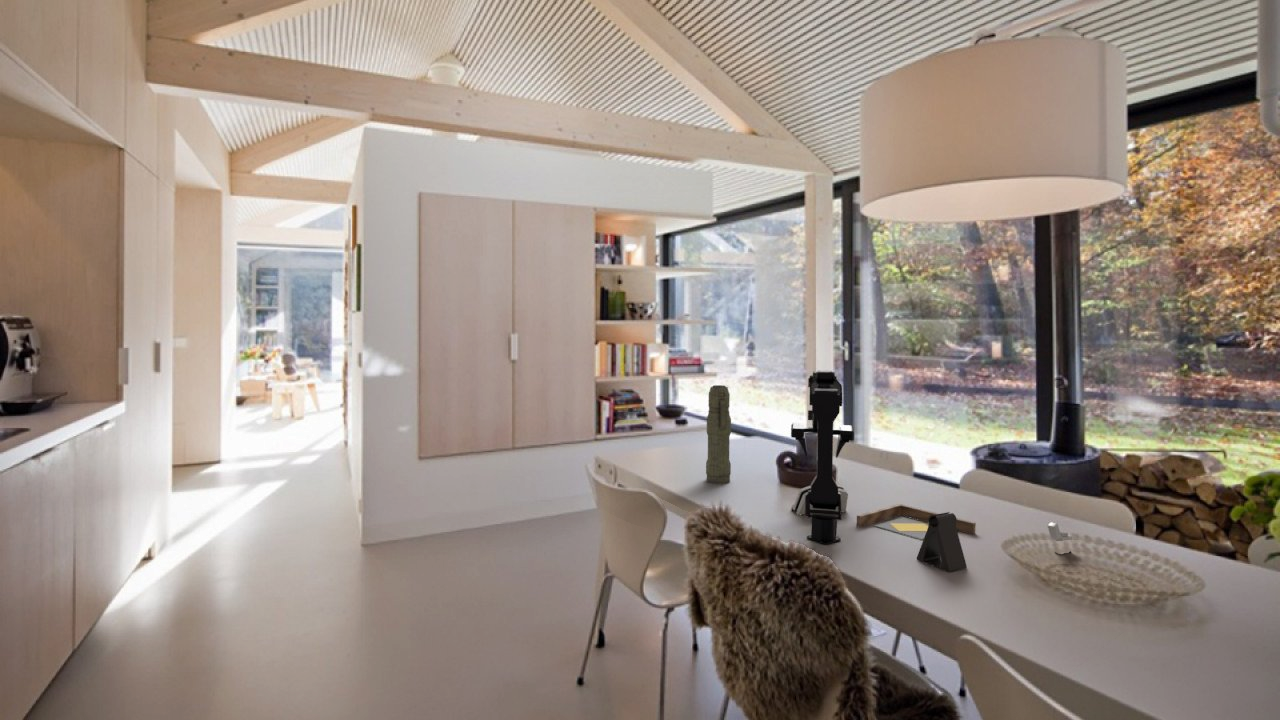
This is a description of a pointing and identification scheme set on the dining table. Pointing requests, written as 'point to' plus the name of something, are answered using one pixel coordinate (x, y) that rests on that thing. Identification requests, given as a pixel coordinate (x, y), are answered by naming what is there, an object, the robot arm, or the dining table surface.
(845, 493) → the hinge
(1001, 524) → the dining table surface
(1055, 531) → the grey l-shaped piece
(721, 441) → the green stone statue
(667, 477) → the dining table surface
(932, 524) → the dark grey a-frame stand
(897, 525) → the mat
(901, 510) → the corner walls
